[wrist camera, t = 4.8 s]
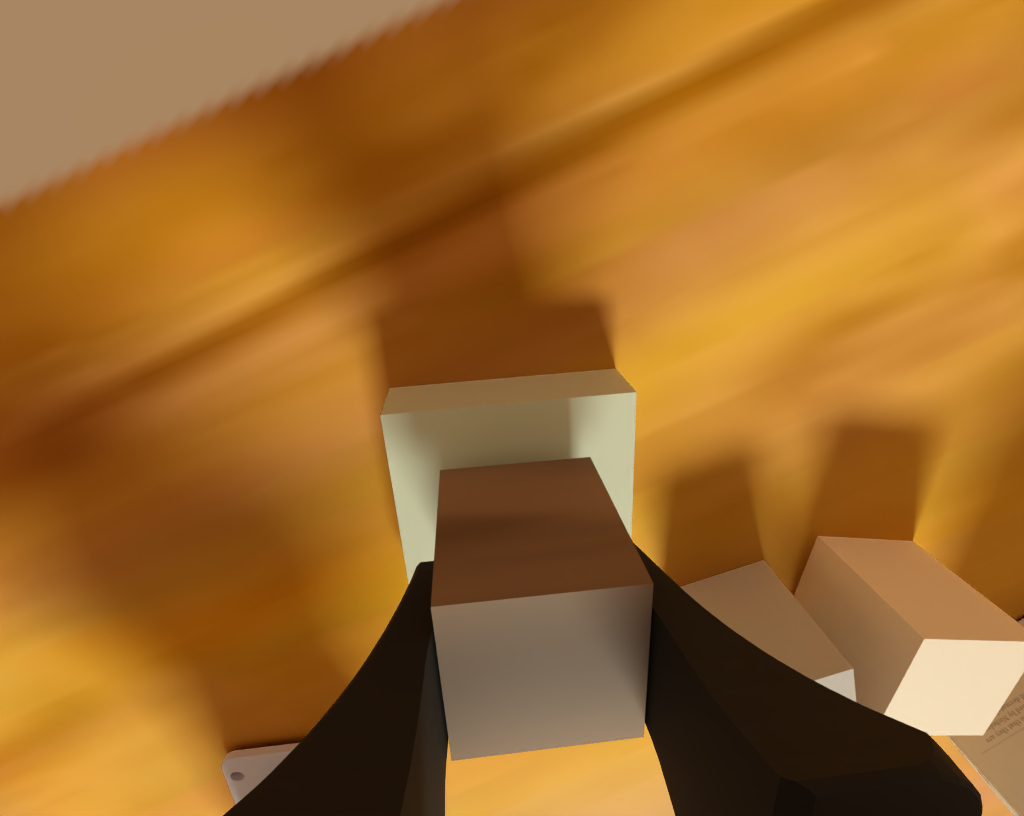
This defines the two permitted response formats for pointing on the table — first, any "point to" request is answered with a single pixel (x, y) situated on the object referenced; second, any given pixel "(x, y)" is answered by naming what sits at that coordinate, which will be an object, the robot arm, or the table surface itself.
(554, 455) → the sage slab
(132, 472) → the table surface
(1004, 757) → the supplement box
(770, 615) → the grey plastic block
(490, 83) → the table surface
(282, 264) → the table surface
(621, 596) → the walnut block
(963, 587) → the cream block
